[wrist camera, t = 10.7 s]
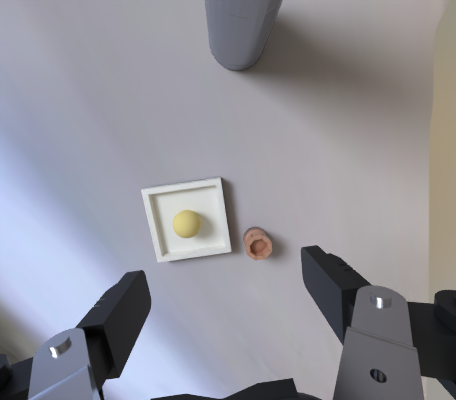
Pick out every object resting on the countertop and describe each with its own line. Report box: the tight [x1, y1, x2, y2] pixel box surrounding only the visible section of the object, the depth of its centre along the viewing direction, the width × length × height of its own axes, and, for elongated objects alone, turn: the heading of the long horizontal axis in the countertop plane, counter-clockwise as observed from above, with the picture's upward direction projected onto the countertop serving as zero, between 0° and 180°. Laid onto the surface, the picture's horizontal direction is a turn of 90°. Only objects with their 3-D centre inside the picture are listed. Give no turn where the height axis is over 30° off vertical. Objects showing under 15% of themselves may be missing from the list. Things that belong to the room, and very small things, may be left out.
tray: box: [141, 177, 231, 262], centre depth 40 cm, size 14×14×2 cm
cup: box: [243, 227, 272, 260], centre depth 40 cm, size 5×5×5 cm
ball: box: [173, 210, 201, 238], centre depth 38 cm, size 5×5×5 cm
